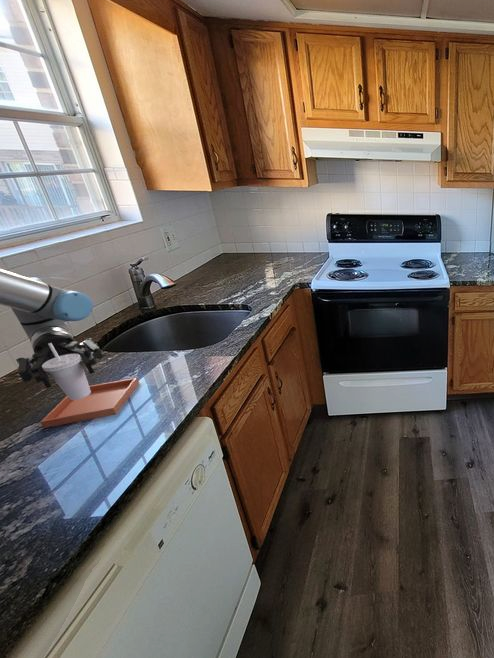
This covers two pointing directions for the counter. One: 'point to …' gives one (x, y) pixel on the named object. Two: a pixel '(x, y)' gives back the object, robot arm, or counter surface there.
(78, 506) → the counter surface
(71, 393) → the smoothie
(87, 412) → the tray
